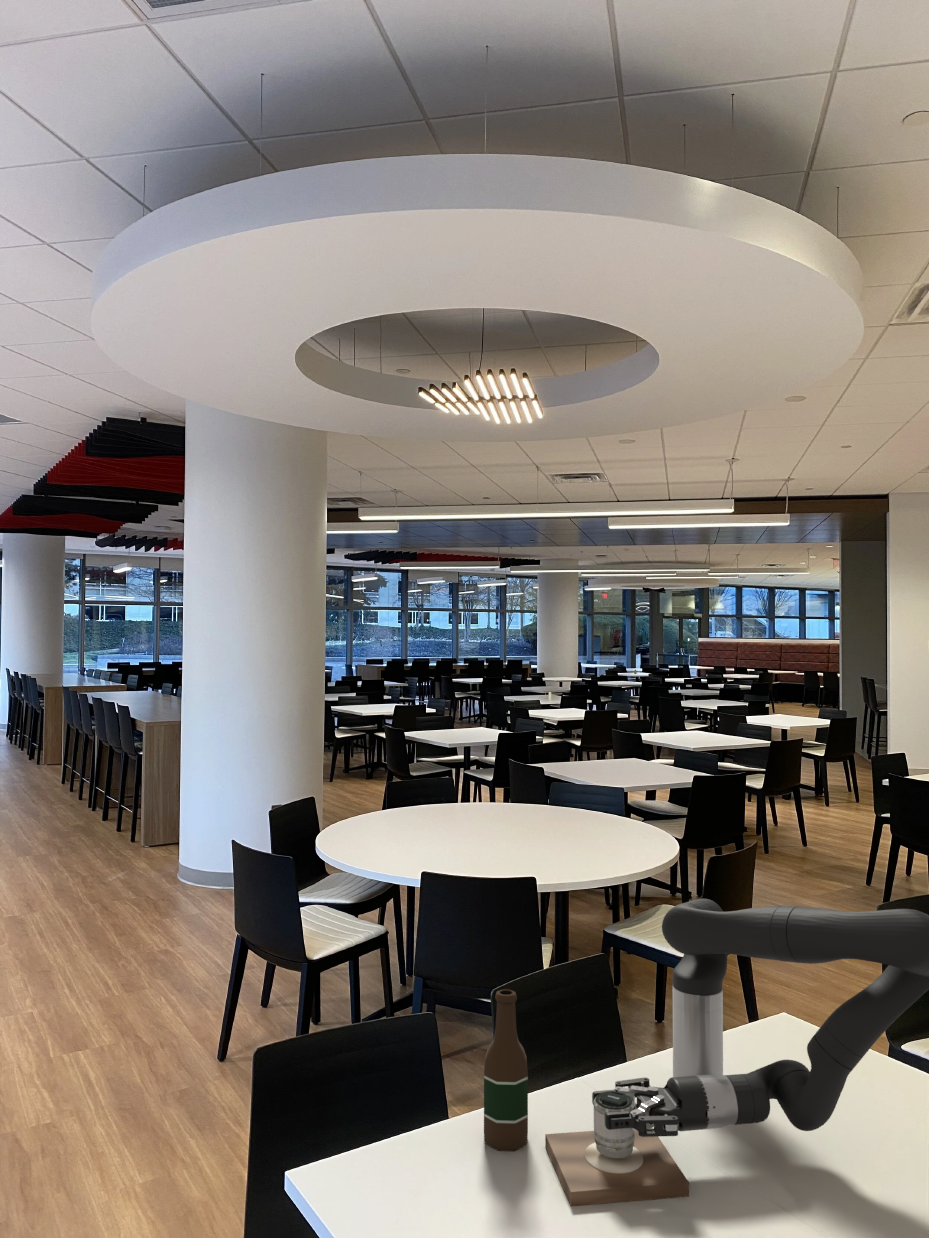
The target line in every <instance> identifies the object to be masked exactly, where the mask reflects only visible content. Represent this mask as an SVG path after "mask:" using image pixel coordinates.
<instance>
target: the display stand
mask: <svg viewBox="0 0 929 1238" xmlns="http://www.w3.org/2000/svg"><path fill="white" fill-rule="evenodd" d="M650 1129H654V1127H652V1128H650ZM634 1134H635V1139H634V1146H633V1151H632V1153H631V1154H630V1155H629V1156H627V1157H624V1158H611V1157H606V1156H604V1155H602V1154H601V1153H599V1151H598V1150H597V1148H596V1143H595V1138H594V1130H587V1131H573V1132H570V1131H569V1132H559V1133H558V1132H557V1133H545V1135H544V1136H545V1137H544V1138H545V1139H544V1140H545V1143H544V1145H545V1149H546V1151H547V1155H548V1156H549V1158H550V1161H551V1163H552V1166H553V1168H554V1170H555V1172H556V1174H557V1176H558V1179H559V1183H560V1185H561V1187H562V1189H563V1191H564V1193H565V1196H566V1198H567V1200H568V1203H569V1206H570V1207H576V1206H587V1205H600V1204H610V1203H611V1204H613V1203H626V1202H636V1201H648V1200H650V1201H651V1200H658V1199H659V1200H660V1199H672V1198H673V1199H674V1198H681V1197H682V1198H684V1197H690V1182H689V1180H688V1179H687V1177H686V1176H685V1174H684V1173H683V1171H682V1170H681V1168H680V1167H679V1166H678V1164H677V1162H676V1161H675V1160H674V1158H673V1156H672V1155H671V1153H670V1152H669V1151H668V1149H667V1147H666V1146H665V1145H664V1143H663V1141H662V1140H661V1138H660V1136H657V1137H641V1136H639V1135H638V1131H634Z"/></svg>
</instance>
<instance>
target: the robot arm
mask: <svg viewBox="0 0 929 1238" xmlns="http://www.w3.org/2000/svg"><path fill="white" fill-rule="evenodd" d="M661 932H662V935H663V937H664V939H665V941H666V942H667V943H668V945H670V947H671V948H672V949H674V950H676V952H679V953H681V954H683V956H682V958H681V959H680V961H679V962H678V963H677V965H676V966H675V967H674V968H673V970H672V1077H669V1079H667V1080H666V1081H667V1082H666V1084H665V1085H664V1087H658V1086H651V1085H650V1078H648V1077H638V1078H631V1079H624V1080H616V1081H615V1083H614V1085H615V1086H614V1089H606V1090H605V1089H604V1090H595V1091H593V1092H592V1093H591V1102H592V1105H593V1106H594V1104H593V1103H594V1099H595V1098H596V1096H597V1095H599V1094H600V1093H603V1092H607V1091H615V1092H621V1093H624V1094H626V1095H628V1096H629V1097H630V1098H631V1099H632V1101H633V1103H634V1110H633V1111H631V1112H630V1113H629V1112H628V1111H621V1112H609V1113H606V1114H605V1126H606V1128H607V1129H608V1130H611V1129H623V1128H631V1130H633V1131H638V1135H639V1136H641V1137H657V1136H658V1137H677V1136H679V1132H689V1131H690V1132H691V1131H699V1130H711V1129H722V1128H727V1127H730V1126H736V1125H737V1126H738V1125H746V1124H748V1125H750V1124H757V1123H759V1124H760V1123H763V1122H765V1121H766V1120H767V1119H768V1118H769V1116H770V1113H771V1101H770V1100H777V1101H776V1102H777V1103H778V1104H779V1106H780V1107H781V1109H782V1111H783V1113H784V1114H785V1116H786V1118H787V1119H788V1121H789V1122H790V1124H791V1125H793V1127H794V1128H796V1129H797V1130H799V1131H804V1132H811V1131H816V1130H817V1129H818V1130H819V1129H820V1128H821V1127H822V1126H824V1125H825V1124H826V1123H827V1122H828V1121H829V1119H831V1117H832V1115H833V1113H834V1112H835V1109H836V1108H837V1107H836V1106H837V1104H838V1102H839V1098H840V1097H841V1094H842V1092H843V1090H844V1087H845V1084H846V1082H847V1079H848V1077H849V1075H850V1074H851V1072H852V1071H853V1070H854V1069H855V1068H856V1066H858V1064H859V1063H860V1061H861V1060H862V1059H863V1058H864V1057H865V1055H866V1054H867V1053H868V1052H869V1050H870V1049H871V1048H872V1047H873V1045H874V1044H875V1043H876V1042H877V1041H878V1040H879V1039H880V1038H881V1036H882V1035H883V1034H884V1033H885V1032H886V1031H887V1030H888V1029H889V1027H891V1026H892V1024H893V1023H894V1022H895V1021H896V1020H898V1018H900V1017H901V1015H903V1014H904V1013H905V1012H906V1010H908V1009H909V1008H910V1007H911V1006H912V1005H913V1004H914V1003H916V1002H917V1001H918V1000H919V999H920V998H921V997H923V995H924V994H926V993H927V992H928V991H929V914H927V913H925V912H923V911H920V910H917V909H913V908H912V909H911V908H895V909H883V910H882V909H879V910H868V911H867V910H866V911H865V910H864V911H845V910H839V909H831V908H824V907H823V908H820V907H811V906H803V905H802V906H800V905H799V906H798V905H797V906H796V905H767V906H758V907H751V908H745V909H739V910H732V911H723V909H722V908H721V907H720V905H719V904H717V902H715V901H714V900H711V899H708V898H697V899H693V900H690V901H686V902H682V903H679V904H676V905H674V906H673V907H671V909H669V910H668V911H666V913H665V915H664V917H663V919H662V921H661ZM728 955H736V956H742V957H747V958H748V957H749V958H754V959H764V960H769V961H770V960H773V961H778V962H779V961H780V962H787V963H797V964H810V965H812V964H813V965H814V964H815V965H816V964H824V963H825V964H826V963H831V962H835V961H841V960H857V961H858V960H859V961H866V962H872V963H877V964H883V965H887V966H886V968H885V969H884V970H883V971H882V972H881V974H880V975H879V976H878V977H877V978H876V979H875V980H874V981H872V982H871V983H870V984H868V985H867V986H866V987H864V989H862V990H861V991H859V992H858V993H856V994H855V995H853V996H852V997H850V998H849V999H847V1000H846V1001H844V1002H843V1003H842V1004H841V1005H839V1006H838V1007H837V1008H836V1009H835V1010H833V1012H832V1013H831V1014H830V1015H829V1016H828V1017H827V1019H826V1020H824V1022H823V1023H822V1024H821V1026H820V1027H819V1028H818V1030H817V1031H816V1032H815V1033H814V1035H813V1036H812V1037H811V1038H810V1040H809V1041H808V1042H807V1046H806V1051H807V1056H808V1058H809V1062H810V1069H809V1068H808V1067H807V1066H806V1065H804V1063H801V1062H800V1061H797V1060H794V1059H780V1060H777V1061H774V1062H772V1063H770V1064H767V1065H765V1066H762V1067H760V1068H757V1069H755V1070H753V1071H750V1072H747V1073H738V1074H737V1073H736V1074H727V1075H725V1074H724V1017H723V1016H724V1011H723V1010H724V1009H723V1008H724V1007H723V1005H724V1004H723V1002H724V999H723V995H724V994H723V993H724V992H723V983H724V980H725V977H726V974H727V969H728ZM650 1128H653V1129H650Z"/></svg>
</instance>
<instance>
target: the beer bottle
mask: <svg viewBox="0 0 929 1238" xmlns="http://www.w3.org/2000/svg"><path fill="white" fill-rule="evenodd" d="M517 997H518V996H517V993H516V991H514V990H512V989H503V988H502V989H499V990H497V991H496V993H495V999H494V1000H495V1001H496V1013H495V1014H496V1016H495V1017H496V1018H495V1030H494V1037H493V1040H492V1041H491V1042H490V1044H489V1045H488V1048H487V1050H486V1053H485V1055H484V1056H485V1057H484V1067H483V1139H484V1144H485V1145H488V1146H489V1147H490V1148H492V1149H494V1150H496V1151H505V1152H507V1151H508V1152H515V1151H517V1150H519V1149H521V1148H523V1147H525V1146H527V1145H528V1144H527V1143H528V1133H529V1125H528V1124H529V1106H528V1104H529V1097H528V1095H529V1073H528V1059H527V1054H526V1051H525V1049H524V1047H523V1045H522V1044H521V1042H520V1041H519V1037H518V1033H517V1032H518V1031H517V1016H516V1002H517V1000H518V998H517Z"/></svg>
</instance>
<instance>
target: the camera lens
mask: <svg viewBox="0 0 929 1238" xmlns="http://www.w3.org/2000/svg"><path fill="white" fill-rule="evenodd" d="M593 1104H594V1105H593ZM592 1105H593V1131H594V1138H595V1143H596V1148H597V1150H598V1151H599V1153H601V1154H602V1155H604V1156H606V1157H611V1158H624V1157H627V1156H629V1155H630V1154H631V1153H632V1151H633V1146H634V1139H635V1134H634V1131H633V1130H631V1128H623V1129H611V1130H608V1129H607V1128H606V1126H605V1114H606V1113H609V1112H621V1111H628V1112H629V1113H630V1112H631V1111H633V1110H634V1103H633V1101H632V1099H631V1098H630V1097H629V1096H628V1095H626V1094H624V1093H621V1092H615V1091H607V1092H603V1093H600V1094H599V1095H597V1096H596V1098H595V1099H594V1103H592Z"/></svg>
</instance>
